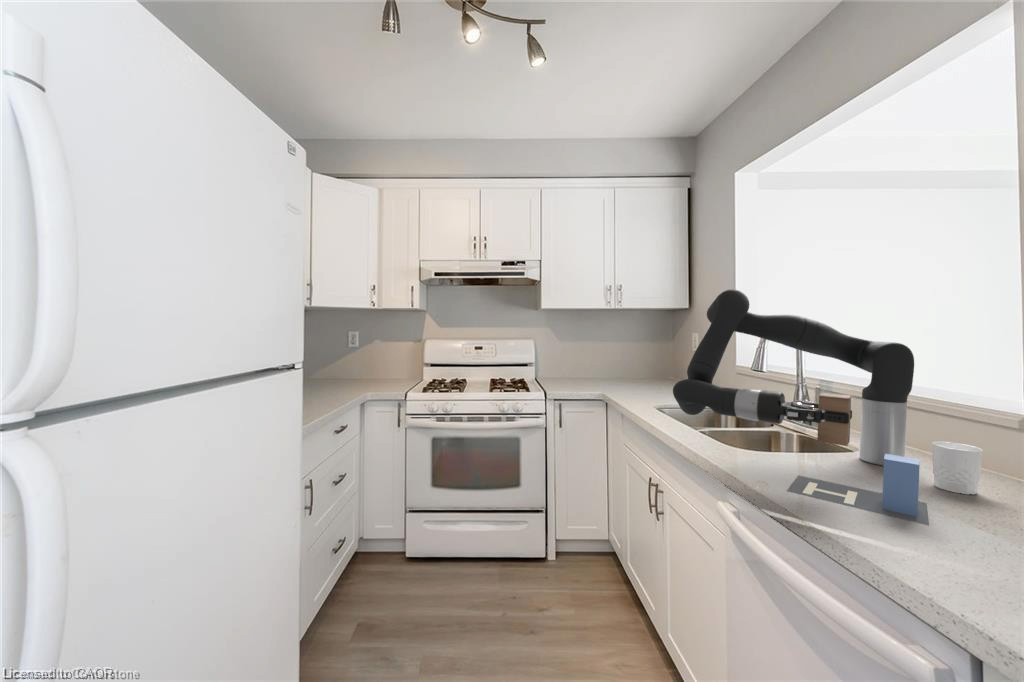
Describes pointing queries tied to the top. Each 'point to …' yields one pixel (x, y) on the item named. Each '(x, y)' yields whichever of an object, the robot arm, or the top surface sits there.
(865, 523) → the top surface
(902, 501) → the blue block
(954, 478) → the white cup
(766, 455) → the top surface
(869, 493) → the letter mat
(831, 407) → the walnut block
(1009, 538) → the top surface
